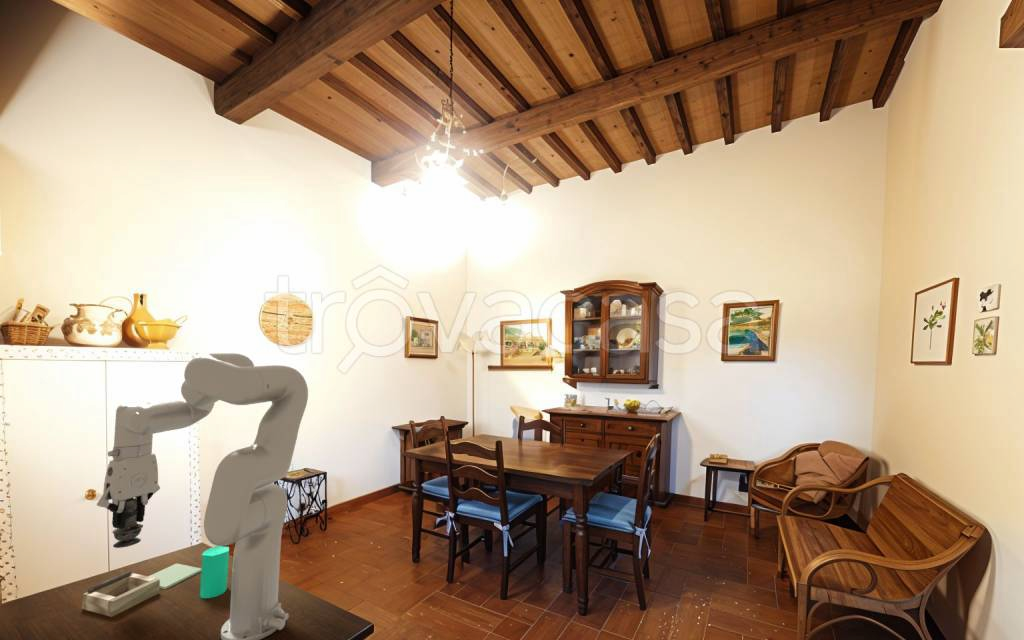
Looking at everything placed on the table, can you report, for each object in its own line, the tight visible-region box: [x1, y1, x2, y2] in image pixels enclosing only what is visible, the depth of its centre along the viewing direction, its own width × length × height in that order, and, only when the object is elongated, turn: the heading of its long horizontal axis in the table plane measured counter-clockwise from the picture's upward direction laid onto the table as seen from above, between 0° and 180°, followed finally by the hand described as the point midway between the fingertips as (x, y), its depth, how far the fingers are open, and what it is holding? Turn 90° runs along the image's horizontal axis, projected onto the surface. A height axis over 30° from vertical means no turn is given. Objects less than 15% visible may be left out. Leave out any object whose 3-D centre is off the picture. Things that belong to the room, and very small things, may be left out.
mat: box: [147, 563, 202, 590], centre depth 120 cm, size 10×10×1 cm
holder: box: [81, 570, 160, 618], centre depth 108 cm, size 10×10×4 cm
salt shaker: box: [111, 497, 144, 549], centre depth 110 cm, size 6×6×12 cm
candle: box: [199, 545, 230, 599], centre depth 113 cm, size 6×6×12 cm
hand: (128, 523), depth 110 cm, fingers closed on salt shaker, 3 cm apart
